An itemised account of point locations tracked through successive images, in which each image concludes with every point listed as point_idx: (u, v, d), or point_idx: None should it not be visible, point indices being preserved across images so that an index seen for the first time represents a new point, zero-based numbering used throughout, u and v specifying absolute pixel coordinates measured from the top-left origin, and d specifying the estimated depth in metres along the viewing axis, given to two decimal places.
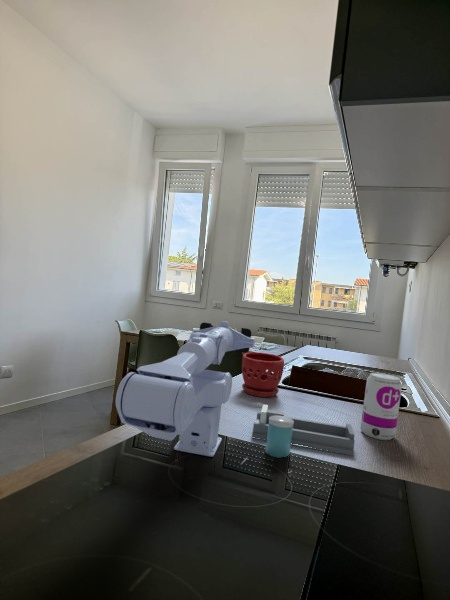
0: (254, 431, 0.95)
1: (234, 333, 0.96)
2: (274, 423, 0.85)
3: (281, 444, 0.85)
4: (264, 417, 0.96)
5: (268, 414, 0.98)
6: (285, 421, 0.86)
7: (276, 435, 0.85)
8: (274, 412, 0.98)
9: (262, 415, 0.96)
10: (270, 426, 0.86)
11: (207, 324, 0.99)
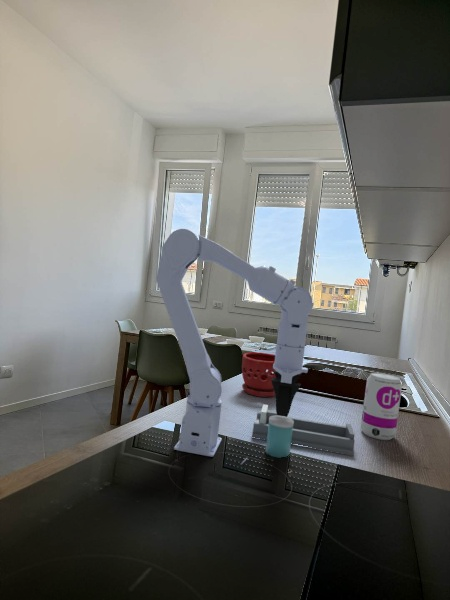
0: (254, 431, 0.95)
1: (295, 370, 0.84)
2: (274, 423, 0.85)
3: (281, 444, 0.85)
4: (264, 417, 0.96)
5: (268, 414, 0.98)
6: (285, 421, 0.86)
7: (276, 435, 0.85)
8: (274, 412, 0.98)
9: (262, 415, 0.96)
10: (270, 426, 0.86)
11: (298, 373, 0.91)
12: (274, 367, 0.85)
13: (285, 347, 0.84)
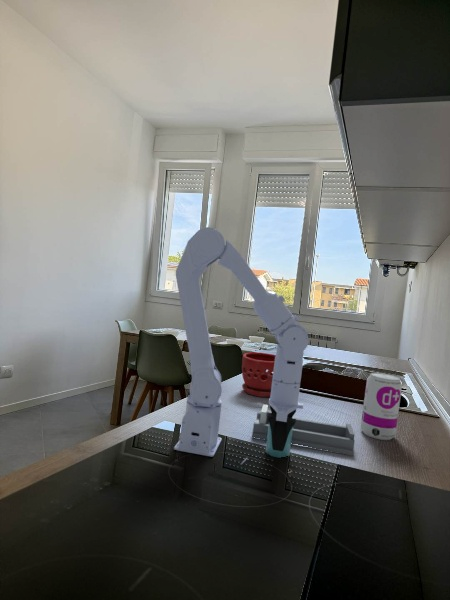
0: (254, 431, 0.95)
1: (291, 407, 0.84)
2: None
3: None
4: (264, 417, 0.96)
5: None
6: None
7: None
8: None
9: (262, 415, 0.96)
10: None
11: None
12: (270, 403, 0.86)
13: (281, 383, 0.84)
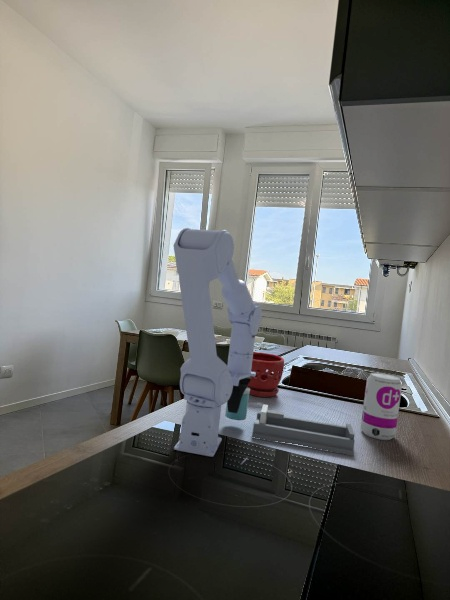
0: (254, 431, 0.95)
1: (244, 374, 0.97)
2: None
3: None
4: (264, 417, 0.96)
5: (268, 414, 0.98)
6: None
7: None
8: (274, 412, 0.98)
9: (262, 415, 0.96)
10: None
11: (249, 377, 1.02)
12: None
13: (235, 354, 0.97)
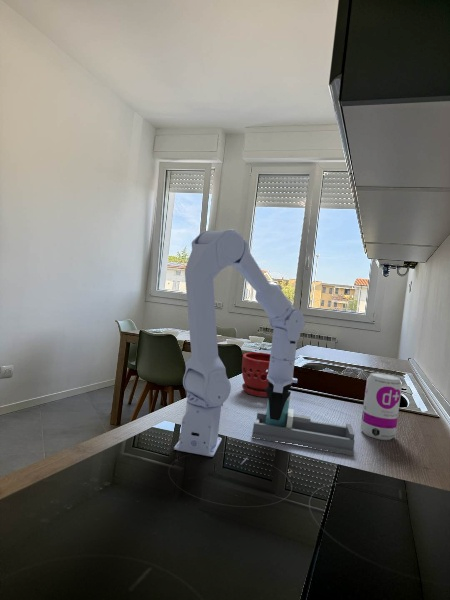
0: (254, 431, 0.95)
1: (286, 381, 0.95)
2: None
3: None
4: (291, 422, 0.95)
5: (294, 418, 0.97)
6: None
7: None
8: (300, 416, 0.97)
9: (289, 419, 0.95)
10: None
11: (290, 384, 1.01)
12: (268, 378, 0.97)
13: (277, 360, 0.95)
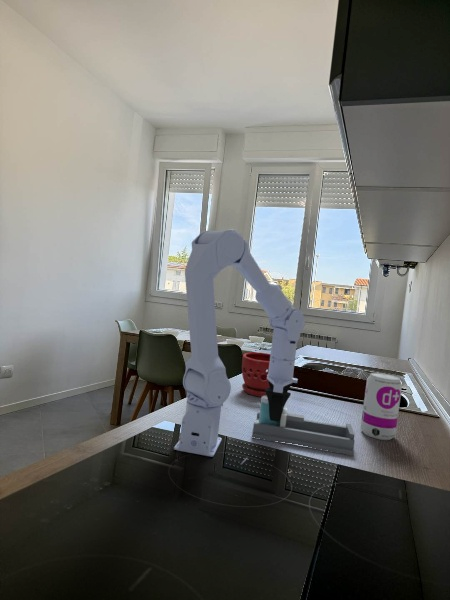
0: (254, 431, 0.95)
1: (286, 381, 0.95)
2: (265, 401, 0.97)
3: None
4: (284, 420, 0.95)
5: (288, 417, 0.97)
6: None
7: (267, 411, 0.96)
8: (294, 415, 0.97)
9: (282, 418, 0.95)
10: (261, 404, 0.98)
11: None
12: (268, 378, 0.97)
13: (277, 360, 0.95)
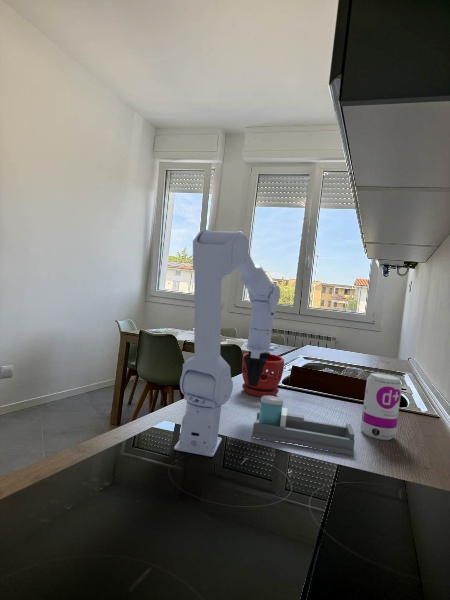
0: (254, 431, 0.95)
1: (263, 349, 1.04)
2: (265, 401, 0.97)
3: (270, 419, 0.96)
4: (284, 420, 0.95)
5: (288, 417, 0.97)
6: (275, 400, 0.97)
7: (267, 411, 0.96)
8: (294, 415, 0.97)
9: (282, 418, 0.95)
10: (261, 404, 0.98)
11: (268, 353, 1.11)
12: (247, 347, 1.05)
13: (255, 330, 1.04)
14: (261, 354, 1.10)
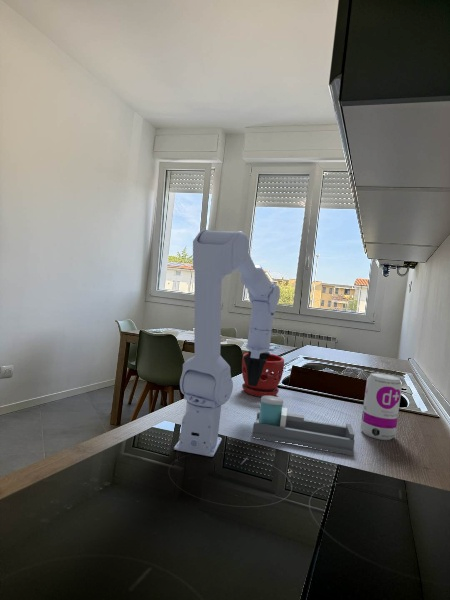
0: (254, 431, 0.95)
1: (263, 349, 1.04)
2: (265, 401, 0.97)
3: (270, 419, 0.96)
4: (284, 420, 0.95)
5: (288, 417, 0.97)
6: (275, 400, 0.97)
7: (267, 411, 0.96)
8: (294, 415, 0.97)
9: (282, 418, 0.95)
10: (261, 404, 0.98)
11: (268, 353, 1.11)
12: (247, 347, 1.06)
13: (255, 330, 1.04)
14: (261, 354, 1.10)
